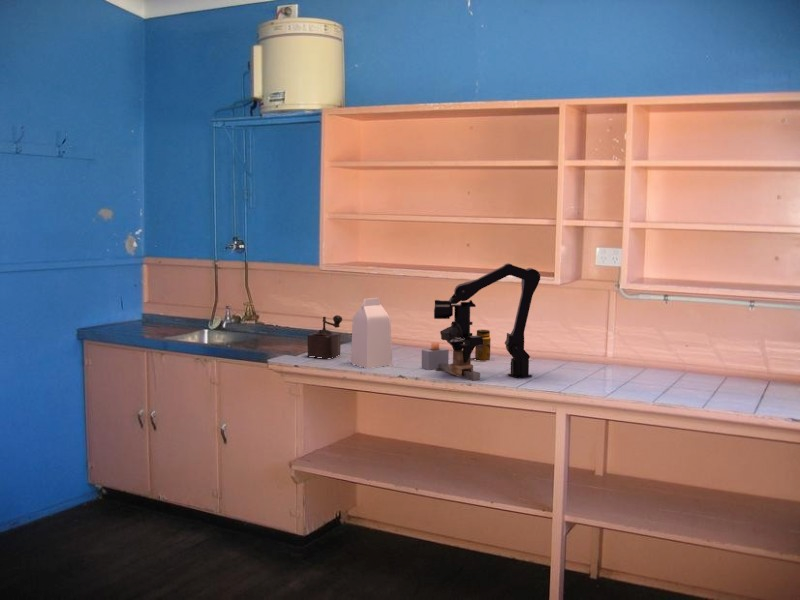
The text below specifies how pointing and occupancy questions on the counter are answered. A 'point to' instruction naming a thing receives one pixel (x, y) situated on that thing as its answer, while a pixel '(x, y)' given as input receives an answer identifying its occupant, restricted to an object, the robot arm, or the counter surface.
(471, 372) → the rail
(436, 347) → the brown rounded piece
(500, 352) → the counter surface
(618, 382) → the counter surface
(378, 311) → the milk
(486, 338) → the condiment
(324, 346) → the manual coffee grinder
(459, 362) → the carriage
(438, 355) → the grey peg holder
